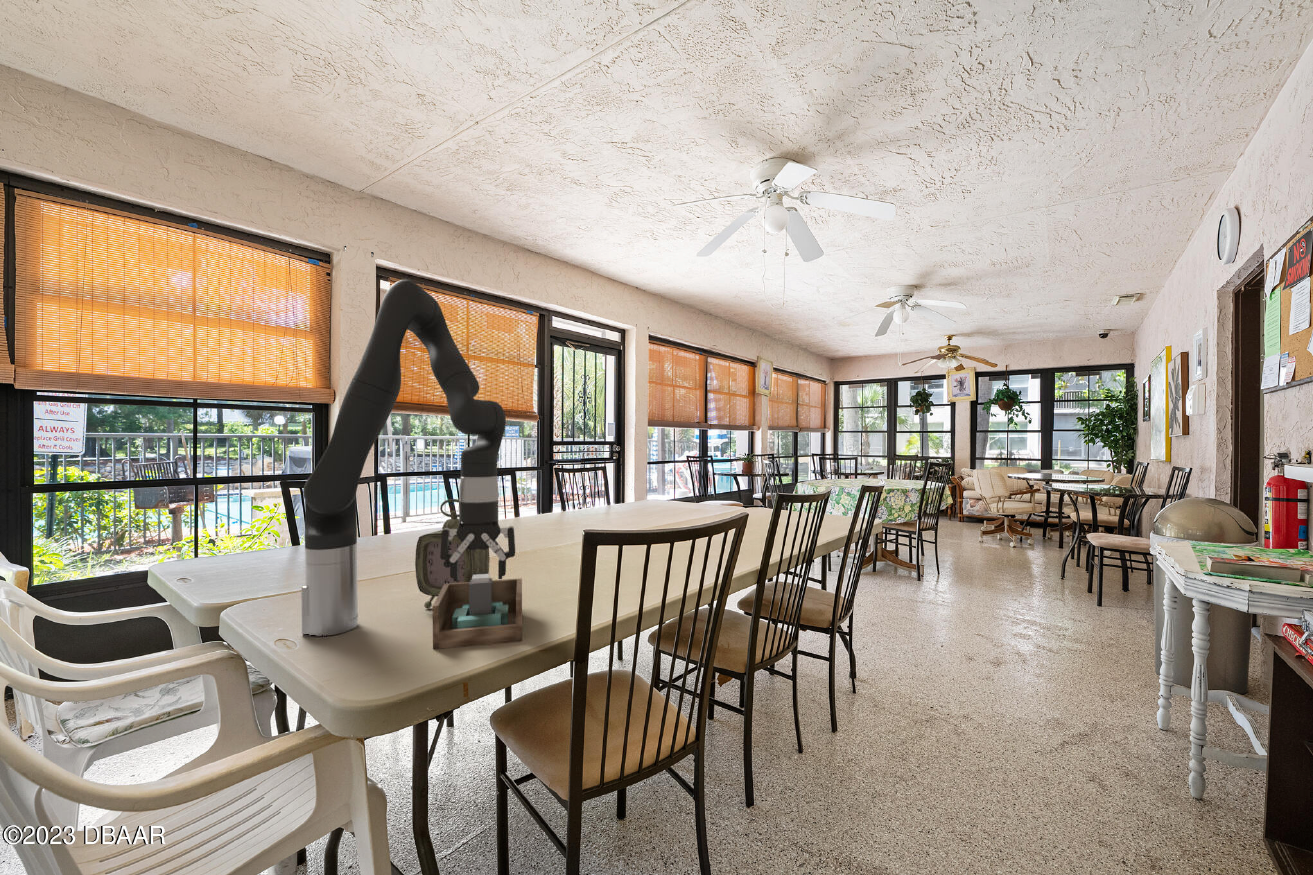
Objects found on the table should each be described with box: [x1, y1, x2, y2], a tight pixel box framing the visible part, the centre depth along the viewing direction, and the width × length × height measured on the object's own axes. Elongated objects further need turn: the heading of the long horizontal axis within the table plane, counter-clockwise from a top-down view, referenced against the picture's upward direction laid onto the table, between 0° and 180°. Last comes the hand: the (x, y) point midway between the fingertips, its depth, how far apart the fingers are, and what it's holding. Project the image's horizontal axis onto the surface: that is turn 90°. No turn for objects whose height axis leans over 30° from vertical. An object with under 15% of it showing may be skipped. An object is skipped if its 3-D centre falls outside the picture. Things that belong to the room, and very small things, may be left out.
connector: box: [469, 573, 493, 616], centre depth 111 cm, size 4×4×10 cm
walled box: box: [432, 577, 523, 650], centre depth 111 cm, size 16×16×8 cm
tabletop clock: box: [414, 498, 491, 609], centre depth 127 cm, size 14×9×25 cm, turn 76°
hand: (478, 579), depth 111 cm, fingers open, 8 cm apart
